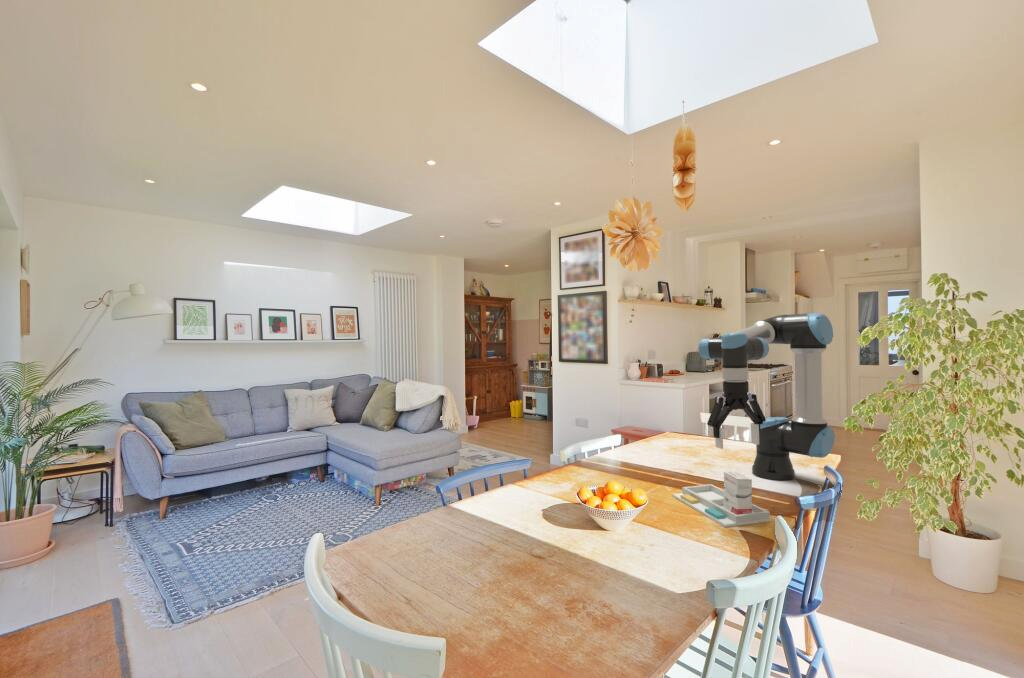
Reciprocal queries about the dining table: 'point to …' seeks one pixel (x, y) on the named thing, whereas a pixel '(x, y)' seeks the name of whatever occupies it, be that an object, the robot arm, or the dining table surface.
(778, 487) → the dining table surface
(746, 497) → the ink box
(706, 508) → the dock board
